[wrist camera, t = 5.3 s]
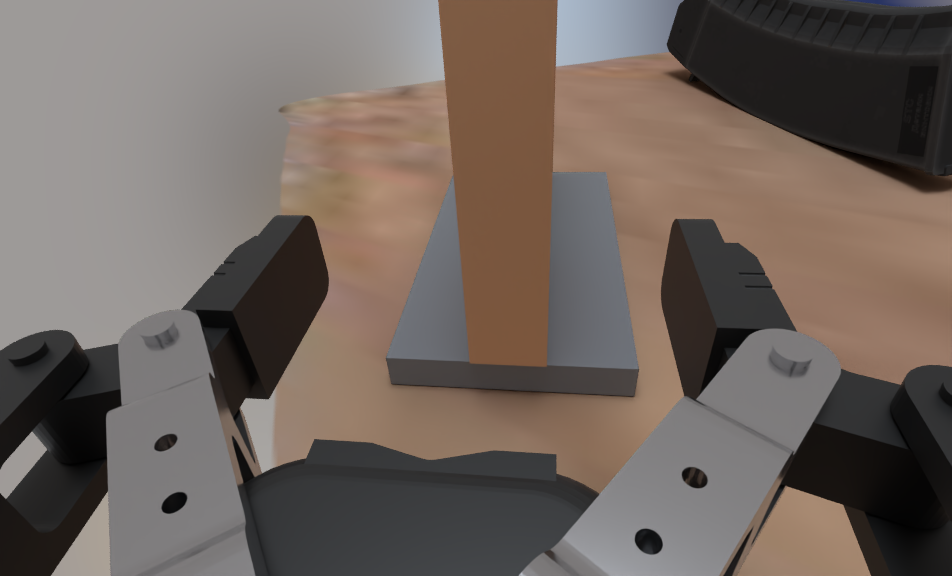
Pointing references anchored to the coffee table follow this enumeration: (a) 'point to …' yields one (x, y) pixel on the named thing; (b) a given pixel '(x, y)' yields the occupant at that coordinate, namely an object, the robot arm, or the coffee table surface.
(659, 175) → the coffee table surface
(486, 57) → the brown rectangular block
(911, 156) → the magazine
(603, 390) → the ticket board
